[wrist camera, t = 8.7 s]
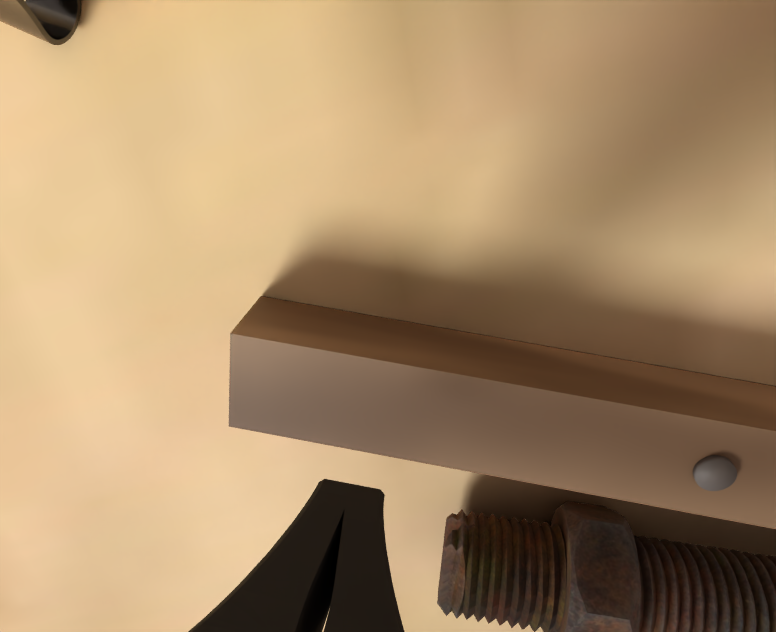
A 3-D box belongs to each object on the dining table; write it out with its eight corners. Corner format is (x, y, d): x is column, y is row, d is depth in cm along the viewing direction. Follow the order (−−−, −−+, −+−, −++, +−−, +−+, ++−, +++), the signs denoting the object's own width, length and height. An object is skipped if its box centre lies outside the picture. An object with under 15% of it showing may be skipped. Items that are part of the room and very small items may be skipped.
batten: (1102, 535, 17) (1206, 615, 15) (257, 380, 19) (226, 430, 16) (1175, 456, 16) (1302, 530, 14) (260, 296, 17) (227, 336, 15)
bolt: (451, 464, 22) (892, 526, 20) (435, 604, 21) (884, 680, 19) (449, 499, 16) (1072, 590, 14) (428, 691, 15) (1067, 812, 14)
